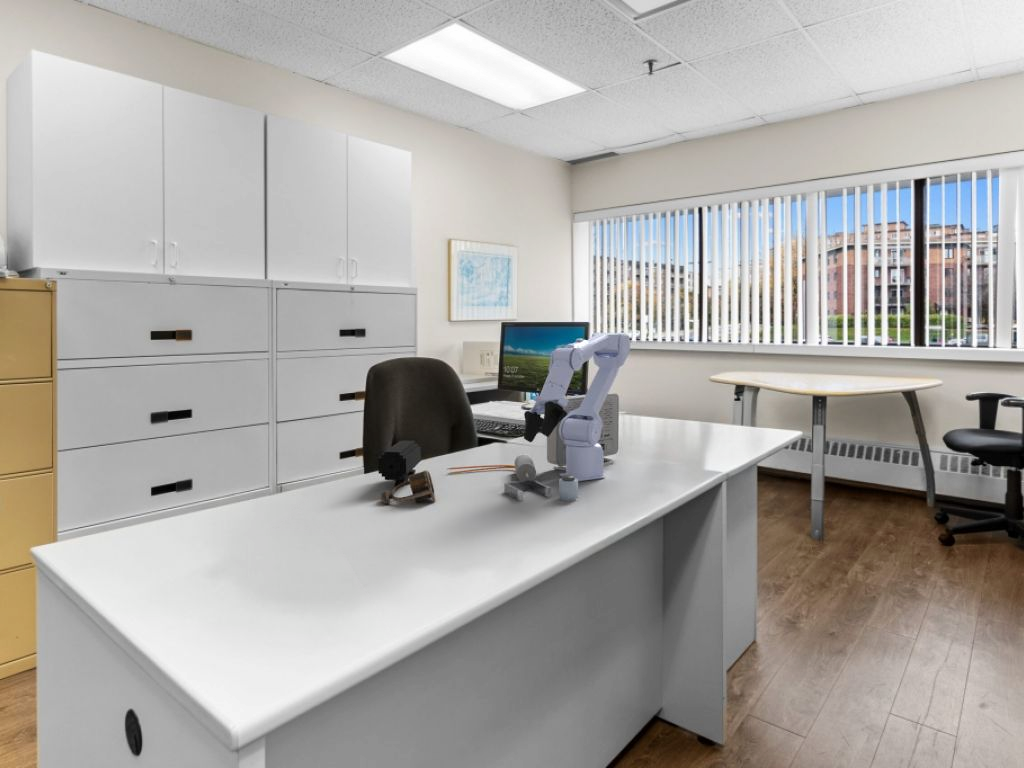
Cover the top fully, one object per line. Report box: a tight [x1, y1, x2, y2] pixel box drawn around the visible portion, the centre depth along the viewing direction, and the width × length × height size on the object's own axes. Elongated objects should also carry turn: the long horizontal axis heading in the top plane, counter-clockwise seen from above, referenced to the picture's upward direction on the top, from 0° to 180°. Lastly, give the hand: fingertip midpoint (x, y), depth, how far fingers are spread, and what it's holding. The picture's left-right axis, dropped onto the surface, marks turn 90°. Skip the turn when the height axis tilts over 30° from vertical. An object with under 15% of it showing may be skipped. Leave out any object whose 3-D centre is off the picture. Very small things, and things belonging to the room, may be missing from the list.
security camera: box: [377, 440, 422, 488], centre depth 161 cm, size 7×18×10 cm, turn 174°
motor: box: [446, 453, 537, 481], centre depth 165 cm, size 23×22×5 cm
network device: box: [546, 392, 620, 472], centre depth 180 cm, size 26×9×20 cm, turn 130°
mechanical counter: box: [380, 469, 437, 505], centre depth 145 cm, size 7×13×10 cm
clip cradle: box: [503, 479, 552, 502], centre depth 150 cm, size 8×9×2 cm
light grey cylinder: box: [558, 475, 579, 502], centre depth 146 cm, size 4×4×5 cm
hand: (535, 437), depth 148 cm, fingers open, 7 cm apart
